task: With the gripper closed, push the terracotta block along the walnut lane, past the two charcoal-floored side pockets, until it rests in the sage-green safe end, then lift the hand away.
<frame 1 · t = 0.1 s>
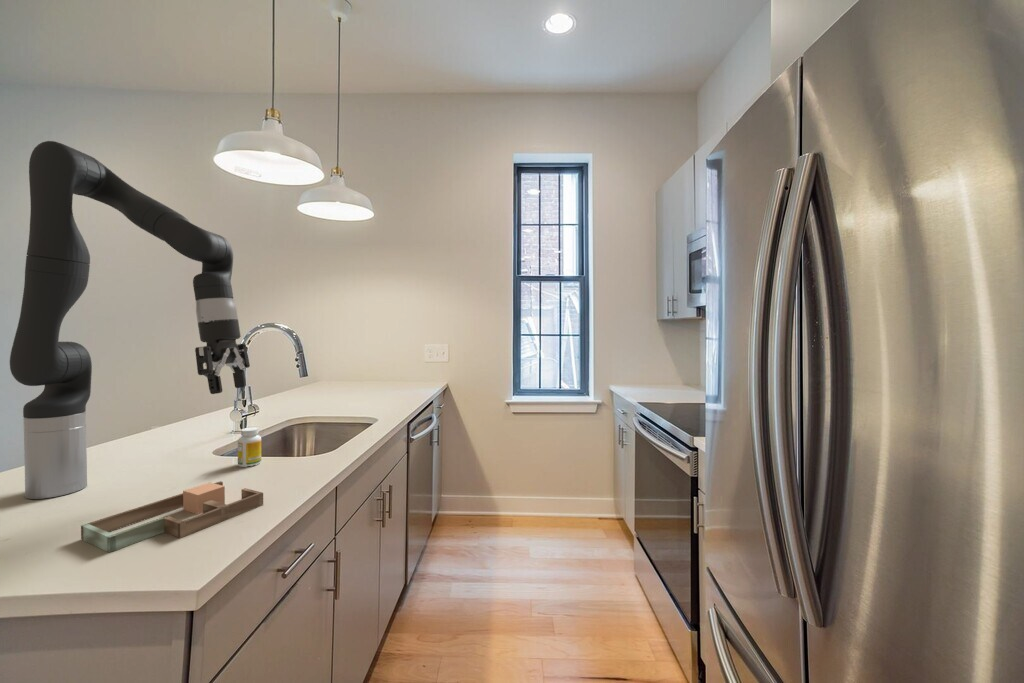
hand: (229, 390, 93), 23 cm above the countertop, tool pointing down, fingers open, 8 cm apart
supplement bottle: (249, 465, 110), on the countertop
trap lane: (170, 519, 79), on the countertop
terracotta block: (204, 507, 84), resting in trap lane
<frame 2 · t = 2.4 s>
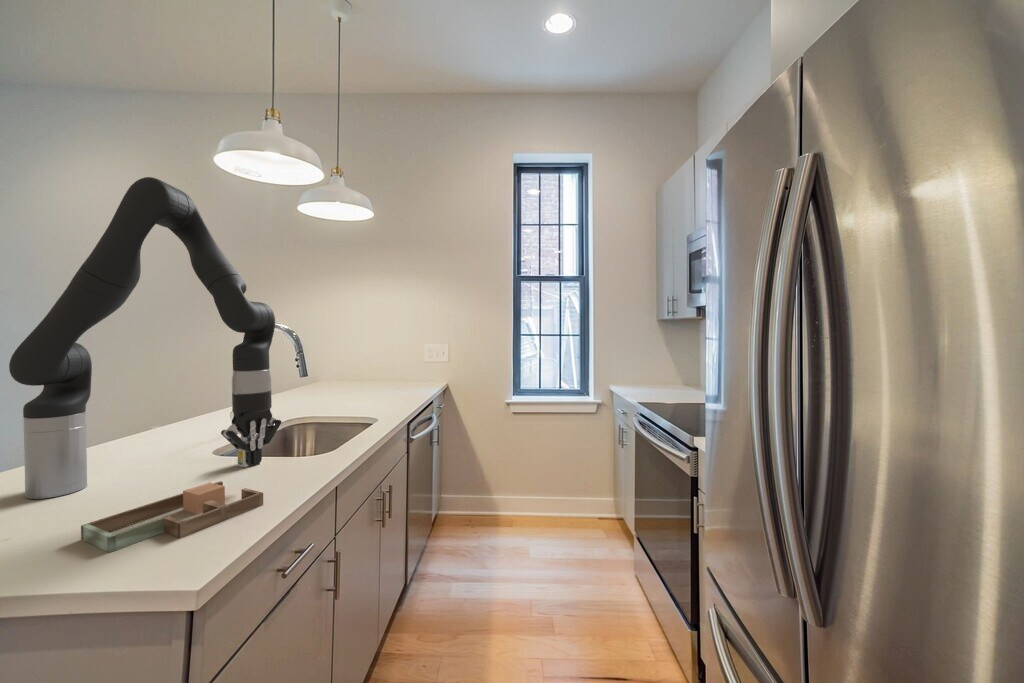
hand: (253, 465, 93), 6 cm above the countertop, tool pointing down, fingers closed
nothing on the countertop moved.
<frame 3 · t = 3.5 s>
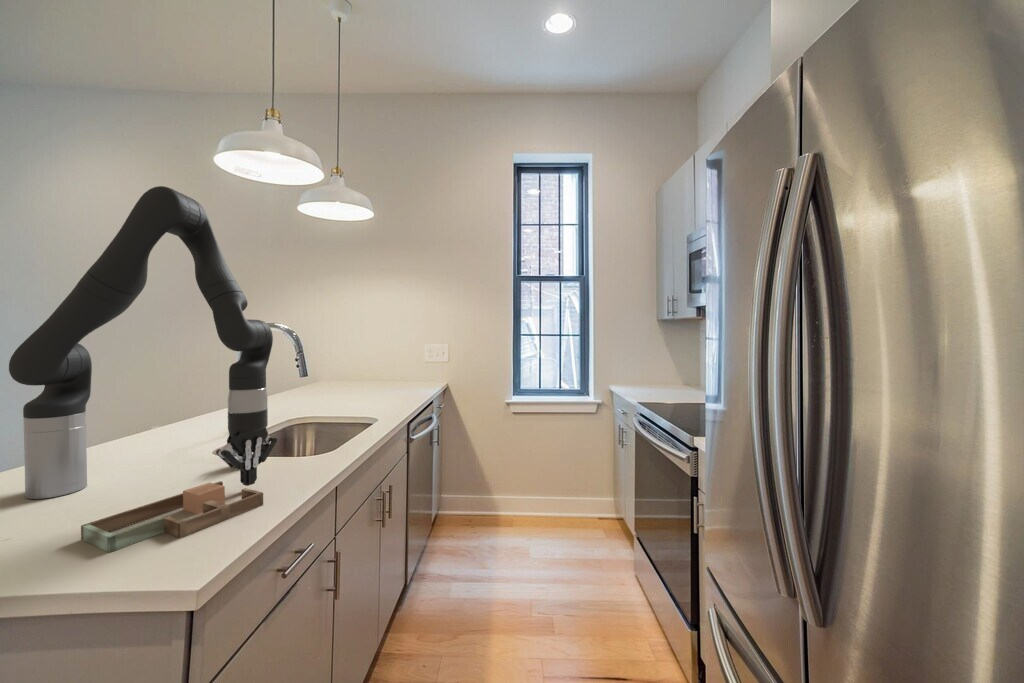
hand: (248, 484, 92), 1 cm above the countertop, tool pointing down, fingers closed
nothing on the countertop moved.
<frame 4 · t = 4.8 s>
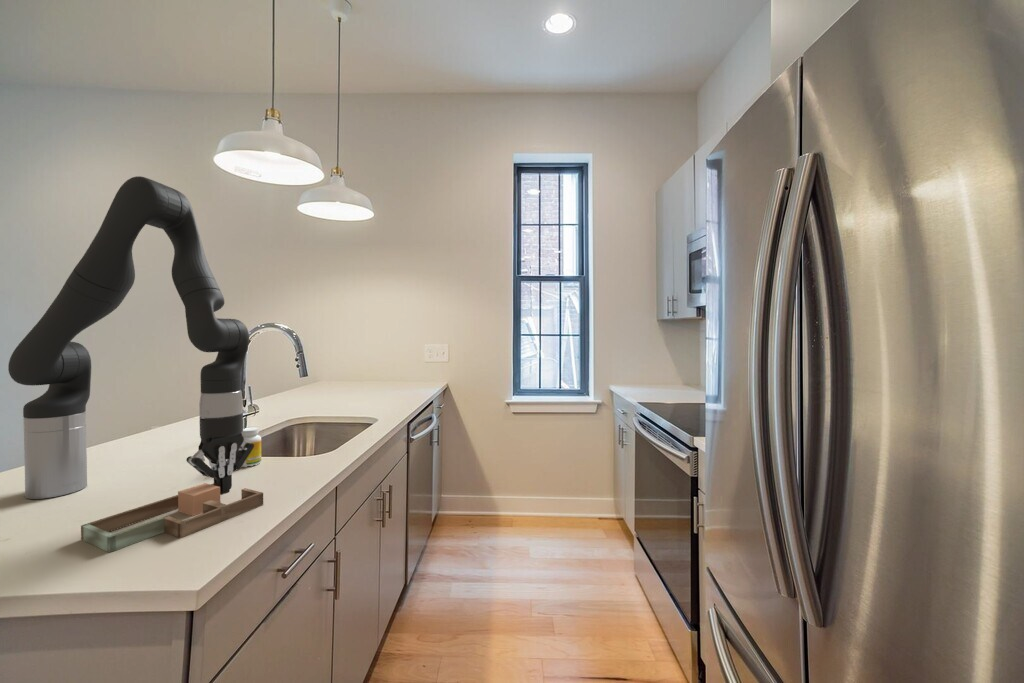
hand: (222, 493, 87), 2 cm above the countertop, tool pointing down, fingers closed
terracotta block: (199, 508, 83), resting in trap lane, touching gripper
everything else where it was.
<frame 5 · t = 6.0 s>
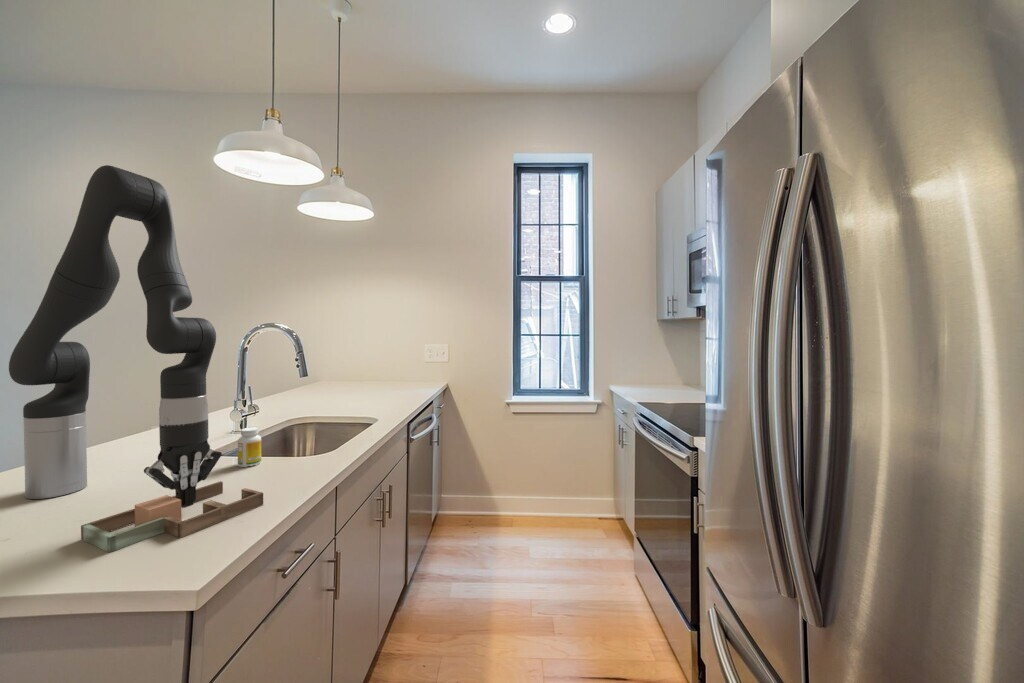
hand: (185, 505, 81), 2 cm above the countertop, tool pointing down, fingers closed
terracotta block: (158, 523, 77), resting in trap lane, touching gripper
everything else where it was.
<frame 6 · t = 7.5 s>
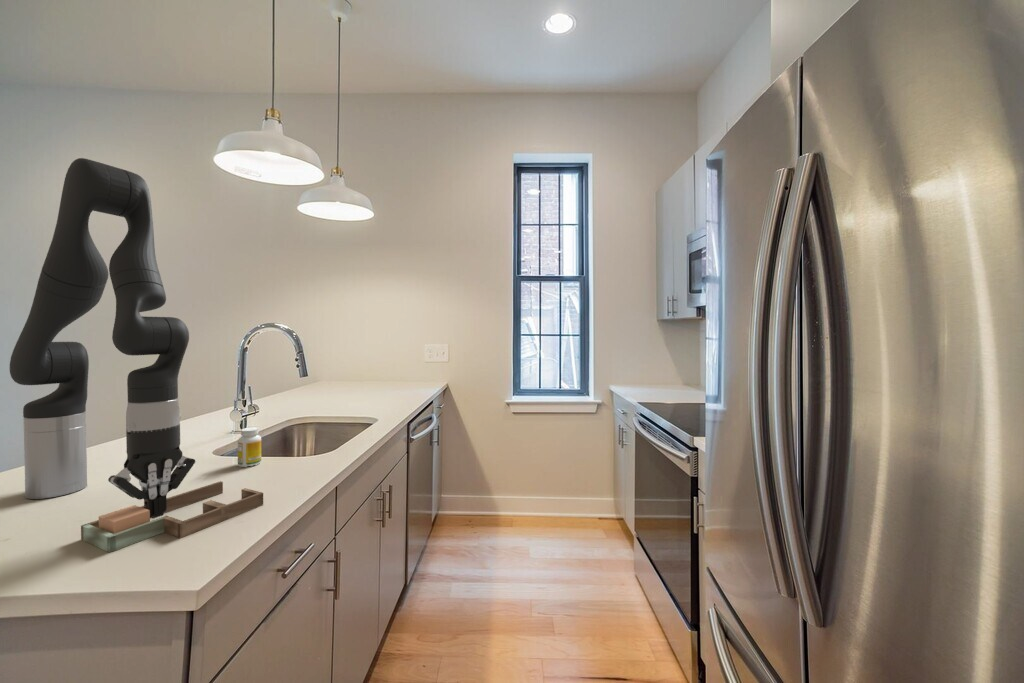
hand: (155, 516, 76), 2 cm above the countertop, tool pointing down, fingers closed
terracotta block: (125, 535, 72), resting in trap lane, touching gripper
everything else where it was.
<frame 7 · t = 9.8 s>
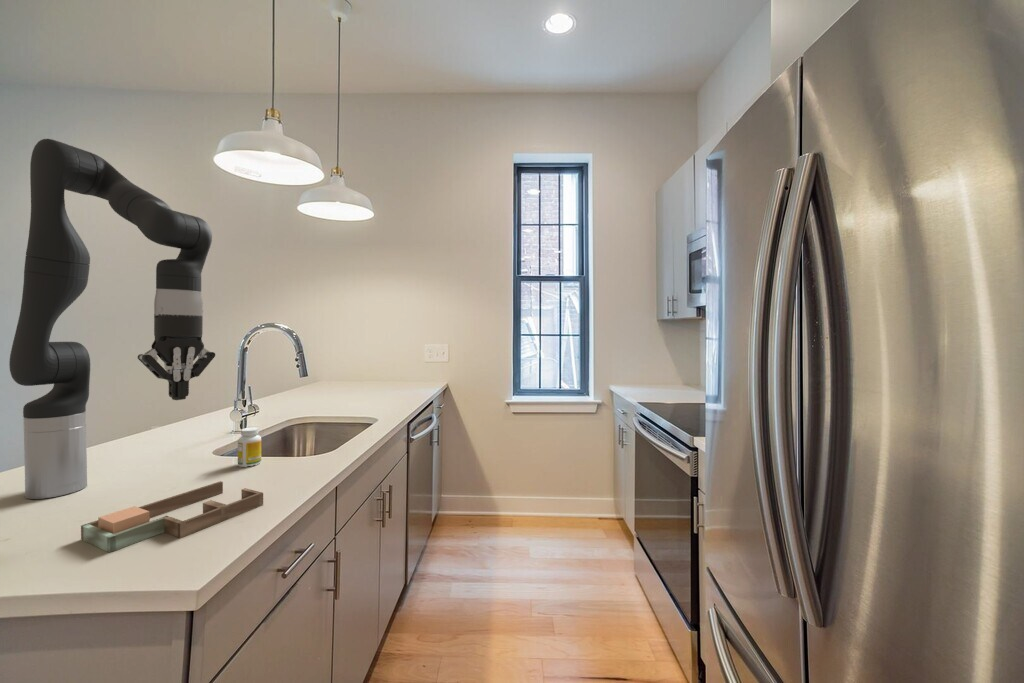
hand: (178, 399, 82), 22 cm above the countertop, tool pointing down, fingers closed
terracotta block: (124, 536, 72), resting in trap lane
everything else where it was.
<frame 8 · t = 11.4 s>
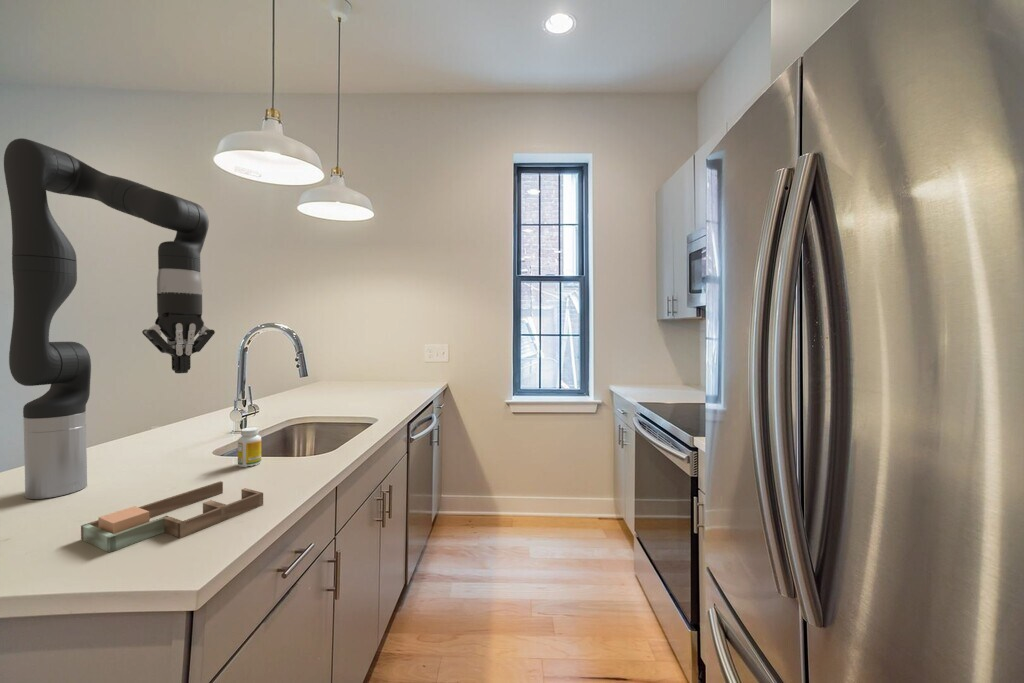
hand: (181, 372, 88), 27 cm above the countertop, tool pointing down, fingers closed
nothing on the countertop moved.
at the end: terracotta block 0.2 cm from the target spot, resting in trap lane; terracotta block tilted 0°; the gripper is holding nothing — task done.
